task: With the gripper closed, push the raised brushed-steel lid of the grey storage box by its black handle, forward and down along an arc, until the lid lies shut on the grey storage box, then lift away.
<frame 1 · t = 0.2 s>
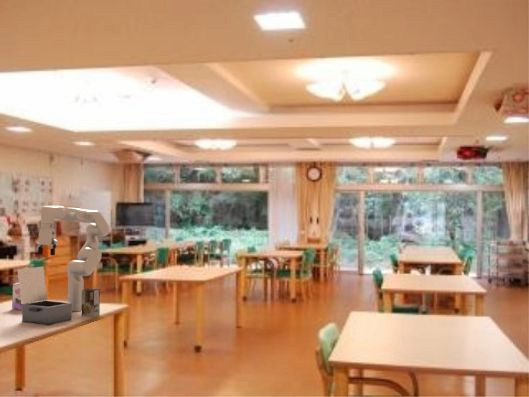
hand: (46, 254, 367), 37 cm above the table, tool pointing down, fingers open, 9 cm apart
candy box: (23, 309, 387), on the table
lid: (31, 285, 356), point 20 cm above the table, hinge at 100.0°
coffee box: (90, 316, 368), on the table
grey storage box: (47, 321, 350), on the table
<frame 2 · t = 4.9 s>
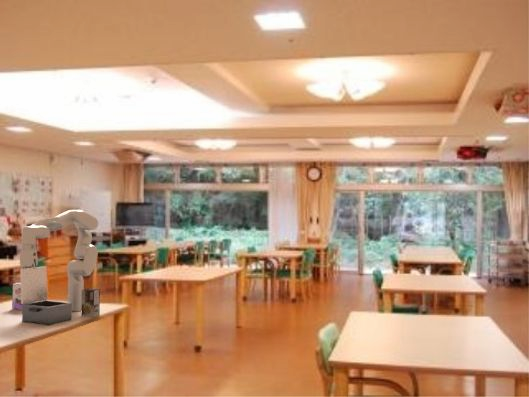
hand: (27, 278, 357), 24 cm above the table, tool pointing down, fingers closed
lid: (33, 284, 355), point 20 cm above the table, hinge at 93.6°, touching gripper
everything else where it was.
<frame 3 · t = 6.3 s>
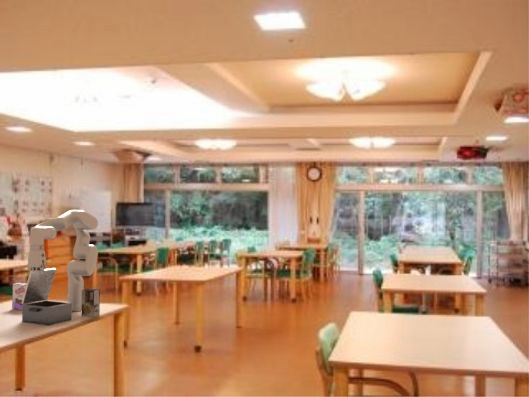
hand: (36, 279, 354), 23 cm above the table, tool pointing down, fingers closed
lid: (38, 285, 354), point 20 cm above the table, hinge at 70.6°, touching gripper
everything else where it was.
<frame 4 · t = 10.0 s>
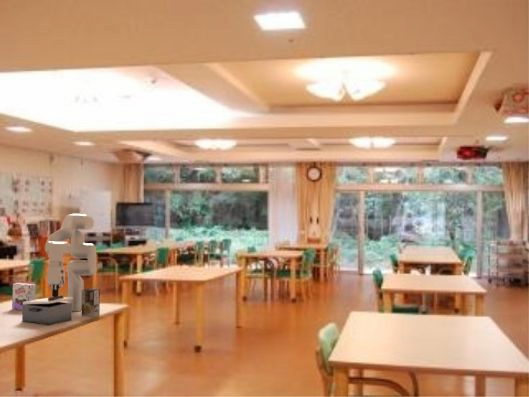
hand: (55, 296, 347), 15 cm above the table, tool pointing down, fingers closed
lid: (48, 299, 350), point 13 cm above the table, hinge at 5.7°
everything else where it was.
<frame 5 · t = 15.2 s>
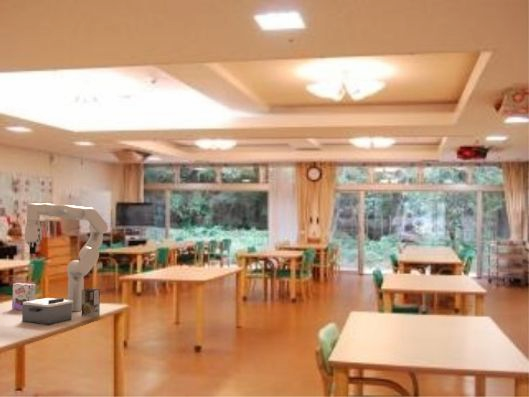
hand: (32, 253, 372), 37 cm above the table, tool pointing down, fingers closed
lid: (48, 300, 350), point 12 cm above the table, hinge at -0.1°
everything else where it was.
at the end: lid at +0° (first picture: +100°) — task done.
